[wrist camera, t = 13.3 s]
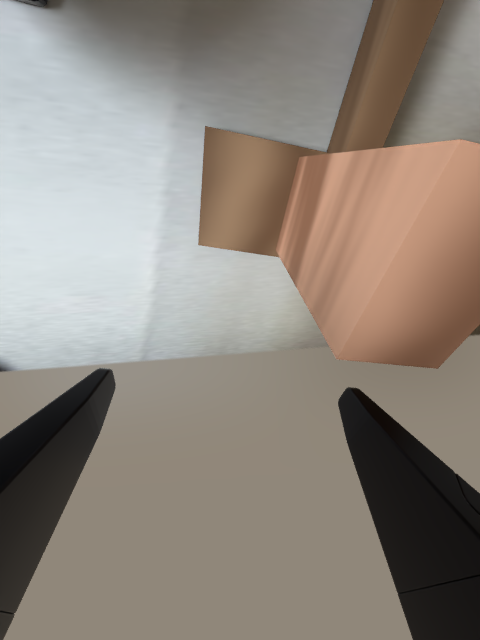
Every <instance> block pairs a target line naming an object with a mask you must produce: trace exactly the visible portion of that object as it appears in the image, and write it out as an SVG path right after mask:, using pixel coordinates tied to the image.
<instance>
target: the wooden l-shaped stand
mask: <svg viewBox="0 0 480 640" xmlns="http://www.w3.org/2000/svg"><path fill="white" fill-rule="evenodd" d="M443 2H444V0H373V4H372V7H371V10H370V13H369V17H368V20H367V23H366V26H365V30H364V33H363V36H362V39H361V43H360V46H359V49H358V52H357V56H356V59H355V62H354V65H353V69H352V72H351V75H350V78H349V82H348V85H347V88H346V91H345V95H344V98H343V101H342V104H341V108H340V111H339V114H338V117H337V121H336V124H335V127H334V131H333V134H332V137H331V140H330V144H329V147H328V150H327V153H326V152H322V151H317V150H312V149H308V148H303V147H299V146H294V145H290V144H285V143H280V142H276V141H271V140H267V139H262V138H257V137H253V136H248V135H244V134H239V133H235V132H230V131H225V130H221V129H216V128H212V127H207V126H205V139H204V156H203V174H202V191H201V209H200V226H199V243H198V245H202V246H208V247H215V248H222V249H228V250H235V251H242V252H248V253H255V254H262V255H268V256H275V257H280V259H281V260H282V262H283V264H284V266H285V268H286V269H287V271H288V273H289V275H290V277H291V278H292V280H293V282H294V284H295V286H296V287H297V289H298V291H299V293H300V295H301V296H302V298H303V300H304V302H305V303H306V305H307V307H308V309H309V311H310V312H311V314H312V316H313V318H314V320H315V321H316V323H317V325H318V327H319V329H320V330H321V332H322V334H323V336H324V338H325V339H326V341H327V343H328V345H329V346H330V348H331V350H332V352H333V353H334V355H335V357H336V359H339V360H350V361H361V362H372V363H383V364H393V365H404V366H415V367H427V368H436V369H437V368H439V367H440V366H441V365H442V363H443V362H444V361H445V360H446V359H447V358H448V357H449V356H450V355H451V354H452V353H453V352H454V351H455V350H456V349H457V348H458V347H459V346H460V344H462V342H463V341H464V340H465V339H466V338H467V337H468V336H469V335H470V334H471V333H472V332H473V331H474V330H475V329H476V328H477V327H478V326H479V325H480V144H478V143H474V142H470V141H465V140H461V139H460V140H451V141H442V142H432V143H423V144H414V145H405V146H396V147H387V148H383V146H384V143H385V141H386V138H387V136H388V134H389V131H390V129H391V126H392V124H393V122H394V119H395V117H396V114H397V112H398V110H399V107H400V105H401V102H402V100H403V98H404V95H405V93H406V90H407V88H408V86H409V83H410V81H411V78H412V76H413V74H414V71H415V69H416V66H417V64H418V62H419V59H420V57H421V54H422V52H423V50H424V47H425V45H426V42H427V40H428V38H429V35H430V33H431V30H432V28H433V26H434V23H435V21H436V18H437V16H438V14H439V11H440V9H441V6H442V4H443Z"/></svg>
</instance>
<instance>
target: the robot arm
mask: <svg viewBox="0 0 480 640" xmlns="http://www.w3.org/2000/svg"><path fill="white" fill-rule="evenodd" d="M18 1H22V2H26V3H29V4H33V5H37V6H44V5H45V4H47V0H18ZM114 391H115V380H114V375H113V371H112V370H111V369H105V368H99V369H97V370H95V371H94V372H92V373H91V374H90V375H88V376H87V377H86V378H84V379H83V380H81V381H80V382H79V383H77V384H76V385H74V386H73V387H72V388H70V389H69V390H68V391H66V392H65V393H63V394H62V395H60V396H59V397H58V398H56V399H55V400H53V401H52V402H51V403H49V404H48V405H47V406H45V407H44V408H42V409H41V410H40V411H38V412H37V413H35V414H34V415H33V416H31V417H30V418H28V419H27V420H26V421H24V422H23V423H22V424H20V425H19V426H17V427H16V428H15V429H13V430H12V431H10V432H9V433H8V434H6V435H5V436H3V437H2V438H1V439H0V640H3V639H4V637H5V635H6V632H7V630H8V628H9V626H10V624H11V622H12V620H13V618H14V613H15V612H16V611H17V609H18V606H19V604H20V602H21V600H22V598H23V596H24V593H25V592H26V589H27V587H28V585H29V583H30V581H31V579H32V576H33V574H34V572H35V570H36V568H37V566H38V564H39V562H40V560H41V557H42V555H43V553H44V551H45V549H46V546H47V545H48V543H49V540H50V538H51V536H52V534H53V532H54V530H55V527H56V526H57V523H58V521H59V519H60V517H61V514H62V513H63V510H64V509H65V506H66V504H67V502H68V500H69V498H70V496H71V494H72V491H73V489H74V487H75V485H76V483H77V481H78V479H79V477H80V474H81V472H82V470H83V468H84V466H85V464H86V462H87V460H88V457H89V455H90V453H91V451H92V449H93V447H94V444H95V442H96V440H97V438H98V436H99V434H100V431H101V428H102V426H103V423H104V420H105V417H106V414H107V411H108V408H109V405H110V402H111V400H112V397H113V394H114ZM338 406H339V410H340V414H341V419H342V422H343V427H344V432H345V436H346V440H347V443H348V446H349V450H350V453H351V456H352V459H353V462H354V465H355V468H356V471H357V474H358V476H359V479H360V483H361V486H362V488H363V491H364V495H365V498H366V501H367V504H368V506H369V509H370V512H371V515H372V518H373V521H374V524H375V527H376V530H377V533H378V536H379V539H380V542H381V545H382V548H383V551H384V554H385V557H386V560H387V563H388V566H389V569H390V572H391V575H392V578H393V581H394V584H395V587H396V590H397V592H398V596H399V599H400V602H401V605H402V608H403V611H404V614H405V617H406V620H407V623H408V626H409V629H410V632H411V635H412V638H413V640H480V493H479V492H477V491H476V490H475V489H474V488H473V487H471V486H470V485H469V484H468V483H467V482H466V481H464V480H463V479H462V478H461V477H460V476H459V475H458V474H455V473H454V471H453V470H452V469H450V468H449V467H448V466H447V465H446V464H445V463H444V462H443V461H441V460H440V459H439V458H438V457H437V456H435V455H434V454H433V453H432V452H431V451H430V450H429V449H428V448H426V447H425V446H424V445H423V444H422V443H420V442H419V441H418V440H417V439H416V438H415V437H414V436H413V435H411V434H410V433H409V432H408V431H407V430H405V429H404V428H403V427H402V426H401V425H400V424H399V423H397V422H396V421H395V420H394V419H393V418H392V417H391V416H389V415H388V414H387V413H386V412H385V411H384V410H383V409H381V408H380V407H379V406H378V405H377V404H376V403H375V402H373V401H372V400H371V399H370V398H369V397H368V396H366V395H365V394H364V393H363V392H362V391H361V390H359V389H357V388H350V387H348V388H347V389H346V390H345V391H344V392H343V394H342V395H341V397H340V398H339V401H338Z"/></svg>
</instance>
